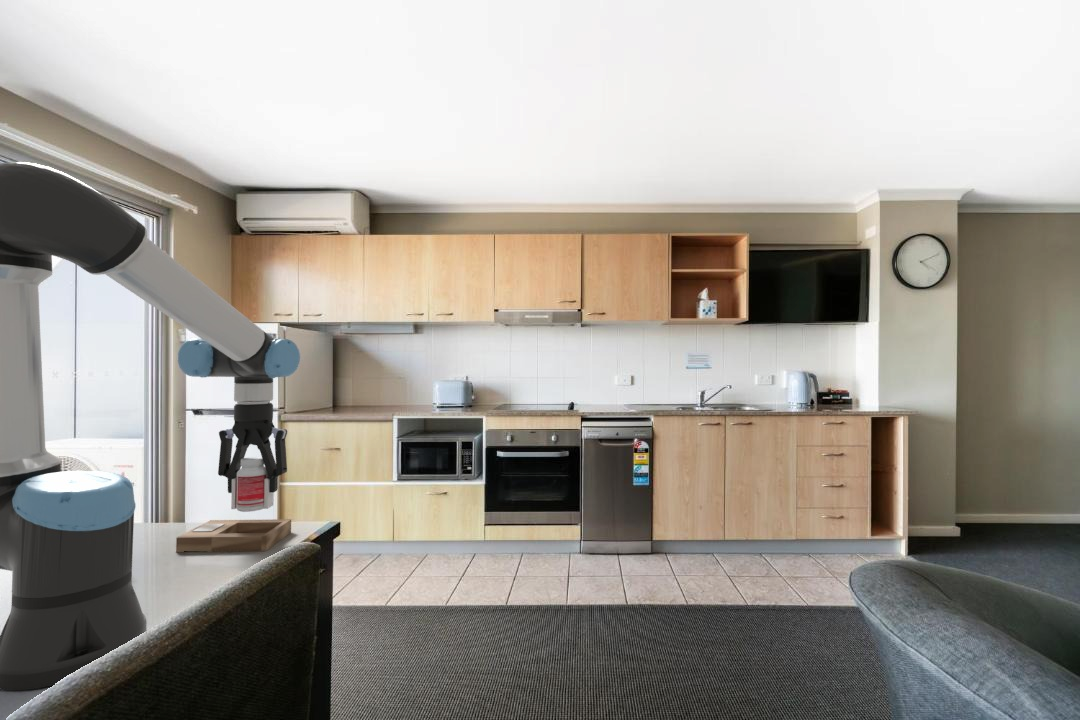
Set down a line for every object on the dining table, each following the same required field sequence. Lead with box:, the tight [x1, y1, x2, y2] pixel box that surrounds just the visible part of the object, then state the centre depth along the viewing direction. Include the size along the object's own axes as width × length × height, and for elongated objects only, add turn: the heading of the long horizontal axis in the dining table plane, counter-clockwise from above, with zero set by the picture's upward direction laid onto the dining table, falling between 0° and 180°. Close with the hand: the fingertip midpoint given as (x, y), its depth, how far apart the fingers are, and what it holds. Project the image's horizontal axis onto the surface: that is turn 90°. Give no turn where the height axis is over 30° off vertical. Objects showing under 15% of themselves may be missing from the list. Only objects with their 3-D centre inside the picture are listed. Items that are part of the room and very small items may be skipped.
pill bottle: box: [235, 456, 268, 513], centre depth 110 cm, size 6×6×11 cm
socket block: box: [175, 518, 292, 553], centre depth 110 cm, size 12×18×3 cm, turn 94°
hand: (252, 507), depth 110 cm, fingers closed on pill bottle, 6 cm apart
